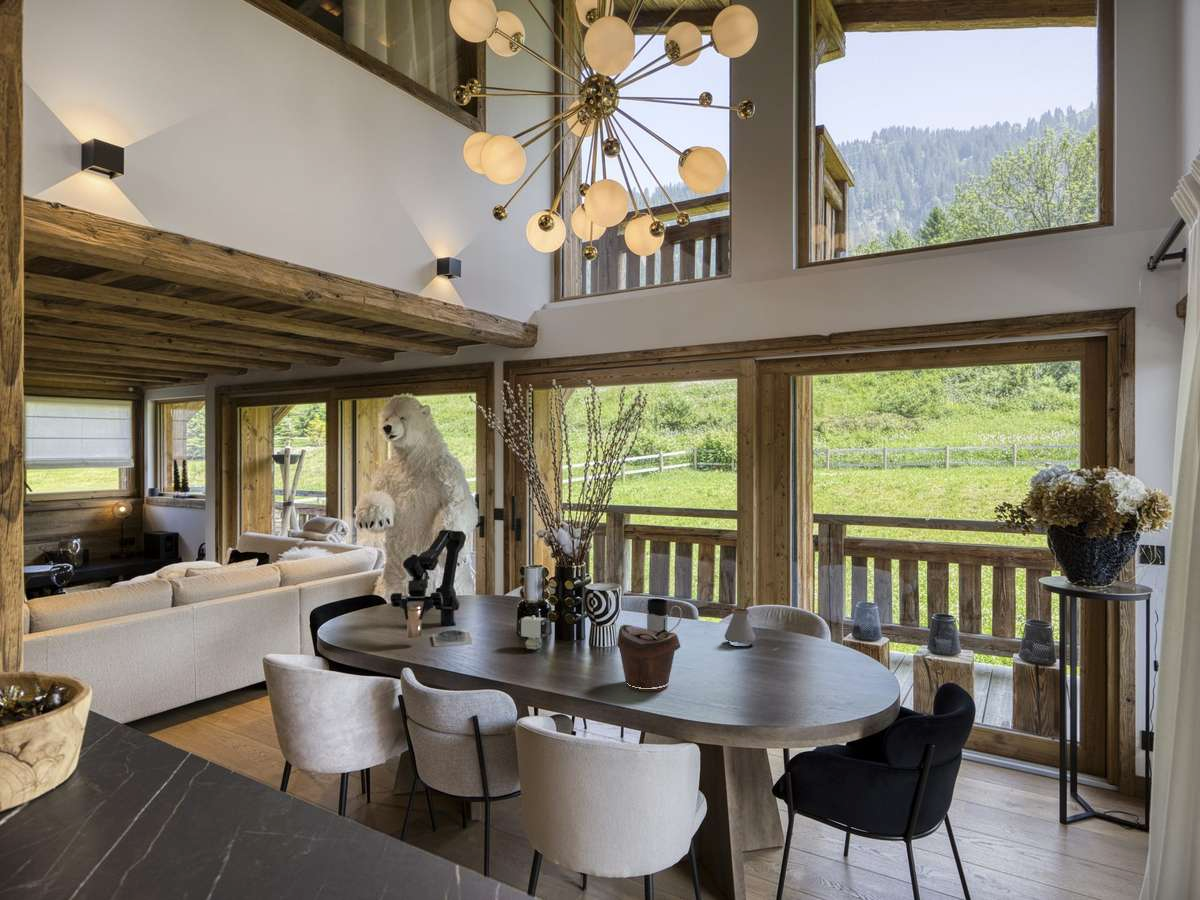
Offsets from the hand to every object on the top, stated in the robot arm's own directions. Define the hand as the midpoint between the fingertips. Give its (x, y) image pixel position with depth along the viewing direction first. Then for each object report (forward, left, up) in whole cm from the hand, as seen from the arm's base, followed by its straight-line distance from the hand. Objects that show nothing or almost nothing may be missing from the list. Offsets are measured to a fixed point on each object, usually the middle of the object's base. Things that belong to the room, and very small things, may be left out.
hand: (413, 619), depth 254 cm
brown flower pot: (+64, +68, -10) cm, 94 cm away
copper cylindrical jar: (-1, 0, -7) cm, 7 cm away
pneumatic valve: (+14, +42, -10) cm, 46 cm away
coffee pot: (+26, +121, -10) cm, 124 cm away
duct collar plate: (-5, +14, -10) cm, 18 cm away
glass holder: (+17, +92, -10) cm, 94 cm away
